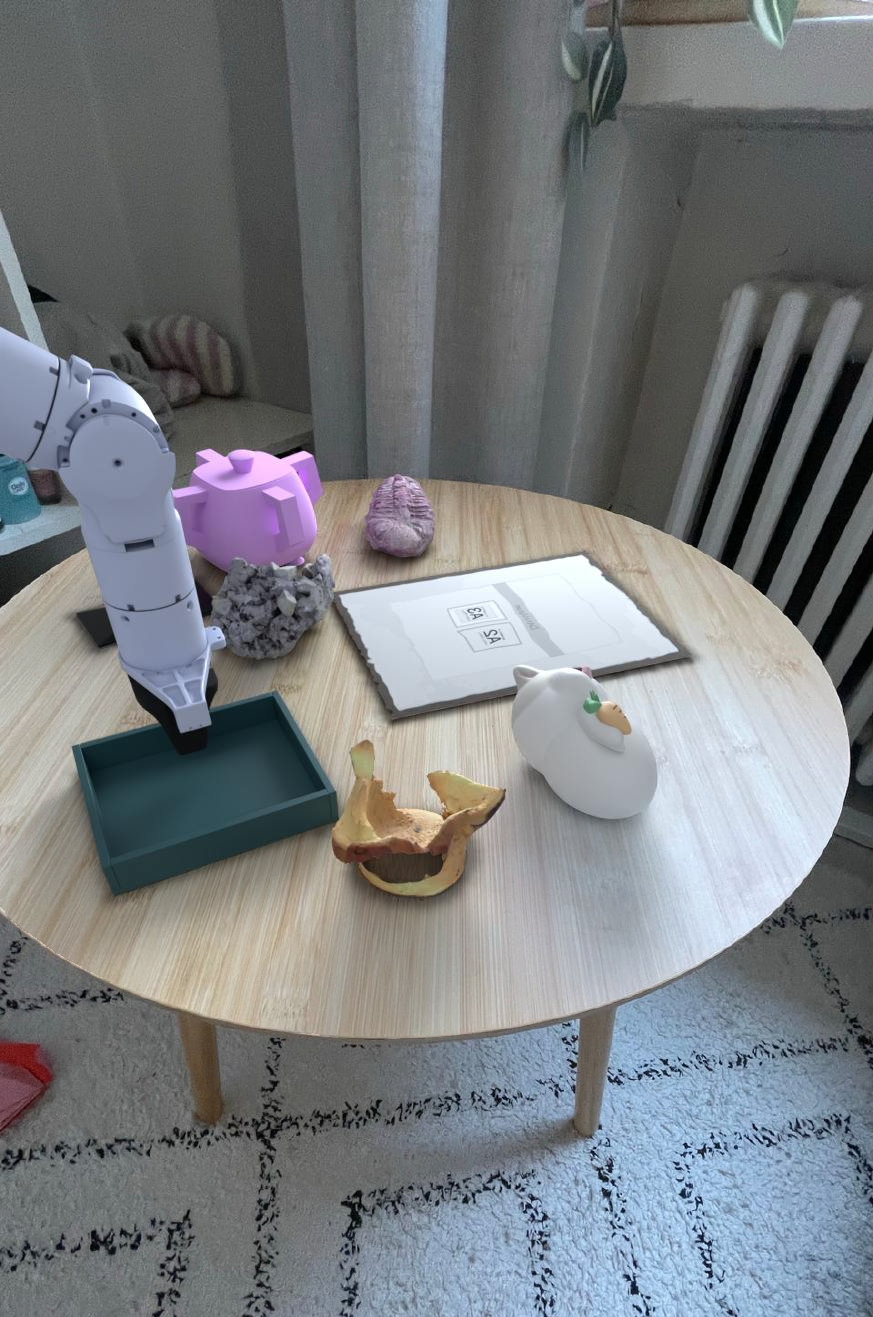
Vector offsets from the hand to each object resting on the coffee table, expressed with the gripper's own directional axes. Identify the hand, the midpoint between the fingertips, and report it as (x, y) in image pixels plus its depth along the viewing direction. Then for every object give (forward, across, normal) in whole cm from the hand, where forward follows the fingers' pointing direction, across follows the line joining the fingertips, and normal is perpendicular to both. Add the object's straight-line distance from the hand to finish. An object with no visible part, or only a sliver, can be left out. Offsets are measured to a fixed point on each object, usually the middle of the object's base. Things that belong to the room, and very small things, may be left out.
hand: (191, 746), depth 59 cm
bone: (+3, -15, -12) cm, 19 cm away
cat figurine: (+3, -13, -26) cm, 30 cm away
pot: (+3, +31, -14) cm, 34 cm away
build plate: (+3, +25, -2) cm, 25 cm away
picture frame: (+3, +8, -32) cm, 34 cm away
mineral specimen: (+3, +15, -12) cm, 19 cm away
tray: (+3, -3, 0) cm, 4 cm away
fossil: (+3, +30, -31) cm, 44 cm away
